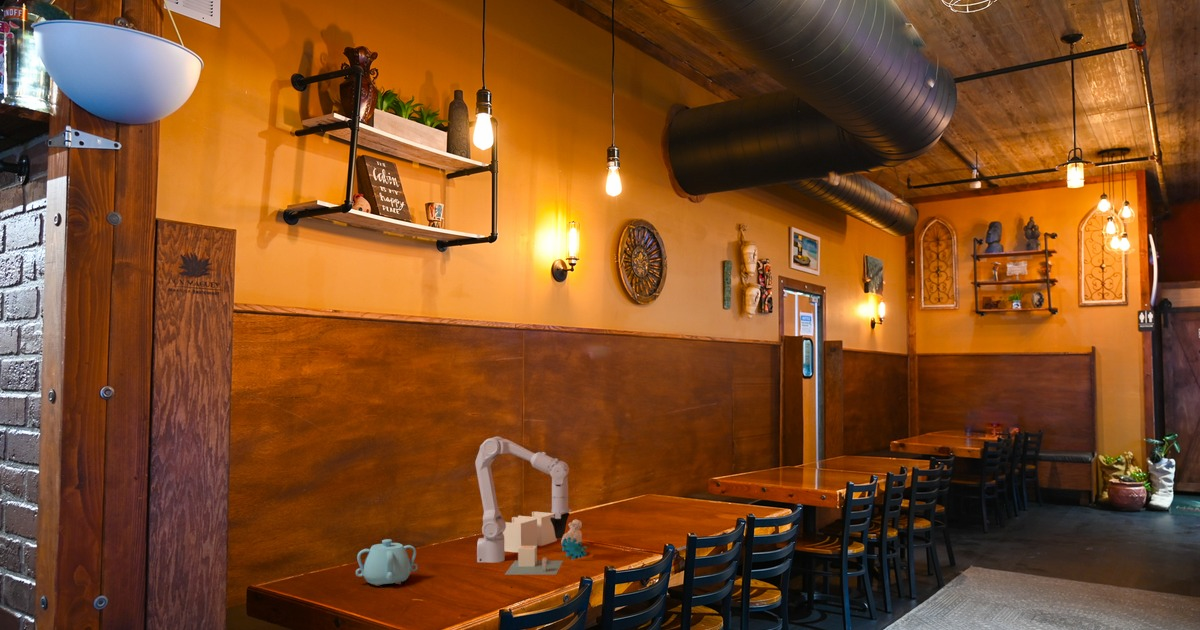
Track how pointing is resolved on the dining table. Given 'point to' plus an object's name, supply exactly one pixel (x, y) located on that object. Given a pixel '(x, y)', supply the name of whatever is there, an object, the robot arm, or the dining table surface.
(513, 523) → the storage container
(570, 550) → the gear
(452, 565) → the dining table surface
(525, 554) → the cabinet with handle
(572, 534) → the bust
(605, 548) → the dining table surface
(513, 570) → the base plate
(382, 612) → the dining table surface
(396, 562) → the decorative pot
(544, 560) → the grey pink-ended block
